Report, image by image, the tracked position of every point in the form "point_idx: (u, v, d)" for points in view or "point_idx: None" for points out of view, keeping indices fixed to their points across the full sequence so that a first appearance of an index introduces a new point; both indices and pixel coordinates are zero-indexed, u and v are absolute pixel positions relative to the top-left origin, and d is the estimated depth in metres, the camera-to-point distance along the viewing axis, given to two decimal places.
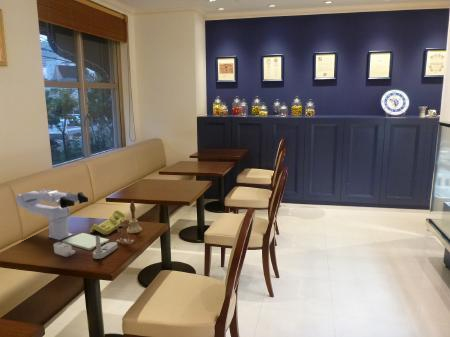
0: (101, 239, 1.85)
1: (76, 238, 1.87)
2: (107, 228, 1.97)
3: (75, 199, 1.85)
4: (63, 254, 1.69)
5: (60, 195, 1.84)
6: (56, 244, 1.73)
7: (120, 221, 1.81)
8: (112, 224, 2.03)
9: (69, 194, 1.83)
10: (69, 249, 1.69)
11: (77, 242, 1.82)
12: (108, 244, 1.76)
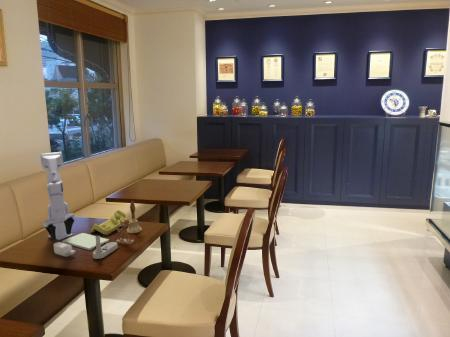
0: (101, 239, 1.85)
1: (76, 238, 1.87)
2: (107, 228, 1.97)
3: None
4: (63, 254, 1.69)
5: (57, 211, 1.66)
6: (56, 244, 1.73)
7: (120, 221, 1.81)
8: (113, 224, 2.03)
9: None
10: (69, 249, 1.69)
11: (77, 242, 1.82)
12: (108, 244, 1.76)
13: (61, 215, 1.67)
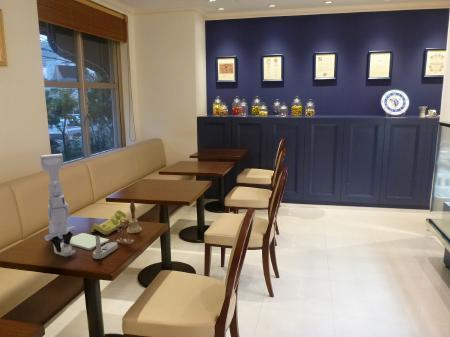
0: (101, 239, 1.85)
1: (76, 238, 1.87)
2: (108, 228, 1.97)
3: None
4: (63, 254, 1.69)
5: (58, 225, 1.67)
6: None
7: (120, 221, 1.81)
8: (113, 224, 2.03)
9: None
10: (69, 249, 1.69)
11: (77, 242, 1.82)
12: (108, 244, 1.76)
13: (63, 228, 1.68)
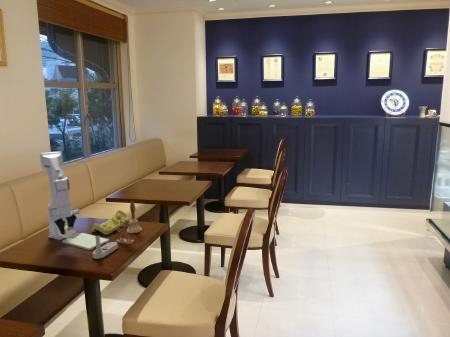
0: (101, 239, 1.85)
1: (76, 238, 1.87)
2: (108, 228, 1.97)
3: None
4: (67, 236, 1.71)
5: (62, 207, 1.69)
6: None
7: (120, 221, 1.81)
8: (114, 224, 2.03)
9: None
10: (73, 231, 1.71)
11: (77, 242, 1.82)
12: (108, 244, 1.76)
13: (67, 211, 1.70)
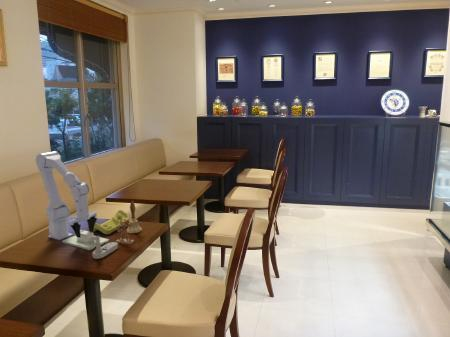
0: (101, 239, 1.85)
1: (76, 238, 1.87)
2: (109, 228, 1.97)
3: None
4: (86, 240, 1.82)
5: (81, 211, 1.79)
6: None
7: (120, 221, 1.81)
8: (114, 224, 2.03)
9: None
10: (91, 236, 1.81)
11: (77, 242, 1.82)
12: (108, 244, 1.76)
13: (85, 214, 1.80)
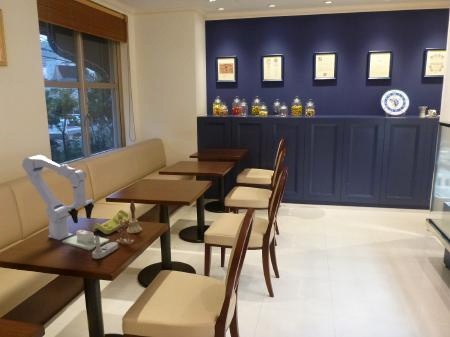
0: (101, 239, 1.85)
1: (76, 238, 1.87)
2: (109, 227, 1.97)
3: None
4: (86, 240, 1.82)
5: (79, 197, 1.83)
6: (79, 231, 1.85)
7: (120, 221, 1.81)
8: (115, 223, 2.04)
9: None
10: (91, 236, 1.81)
11: (77, 242, 1.82)
12: (108, 244, 1.76)
13: (82, 200, 1.84)
